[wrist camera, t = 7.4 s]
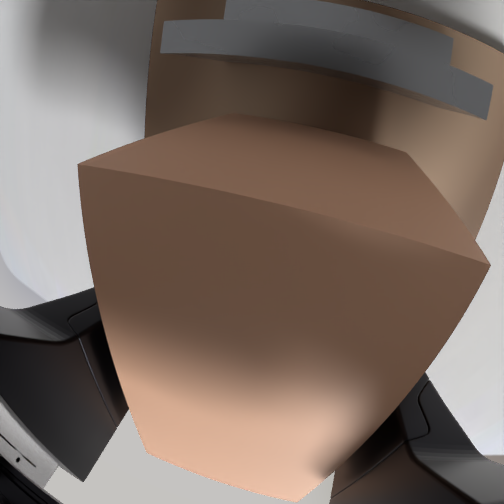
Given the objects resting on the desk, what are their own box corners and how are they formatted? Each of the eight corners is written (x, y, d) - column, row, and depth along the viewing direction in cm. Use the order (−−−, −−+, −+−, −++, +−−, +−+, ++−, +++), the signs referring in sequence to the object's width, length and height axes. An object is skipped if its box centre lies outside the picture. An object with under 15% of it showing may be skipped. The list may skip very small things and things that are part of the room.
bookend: (448, 40, 7) (500, 19, 3) (436, 107, 8) (486, 120, 5) (233, -2, 8) (174, -38, 4) (224, 61, 9) (159, 53, 6)
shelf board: (511, 65, 7) (523, 64, 6) (371, 397, 16) (371, 411, 15) (172, -4, 9) (158, -9, 8) (163, 337, 18) (155, 348, 18)
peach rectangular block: (406, 151, 8) (491, 265, 3) (325, 368, 12) (296, 502, 7) (233, 112, 8) (78, 163, 4) (212, 335, 13) (146, 452, 8)
